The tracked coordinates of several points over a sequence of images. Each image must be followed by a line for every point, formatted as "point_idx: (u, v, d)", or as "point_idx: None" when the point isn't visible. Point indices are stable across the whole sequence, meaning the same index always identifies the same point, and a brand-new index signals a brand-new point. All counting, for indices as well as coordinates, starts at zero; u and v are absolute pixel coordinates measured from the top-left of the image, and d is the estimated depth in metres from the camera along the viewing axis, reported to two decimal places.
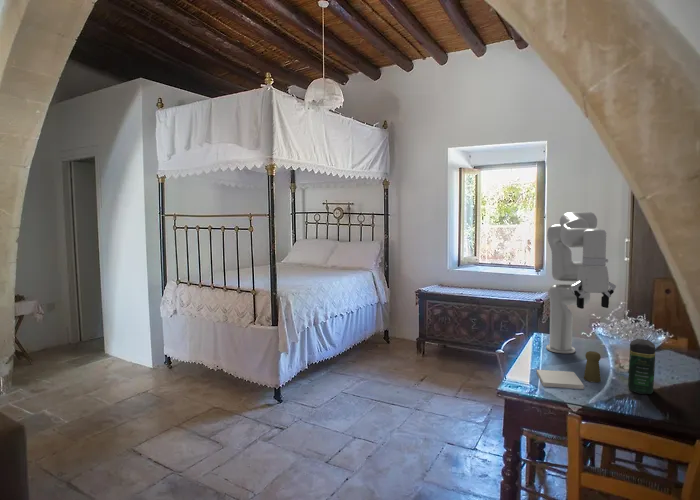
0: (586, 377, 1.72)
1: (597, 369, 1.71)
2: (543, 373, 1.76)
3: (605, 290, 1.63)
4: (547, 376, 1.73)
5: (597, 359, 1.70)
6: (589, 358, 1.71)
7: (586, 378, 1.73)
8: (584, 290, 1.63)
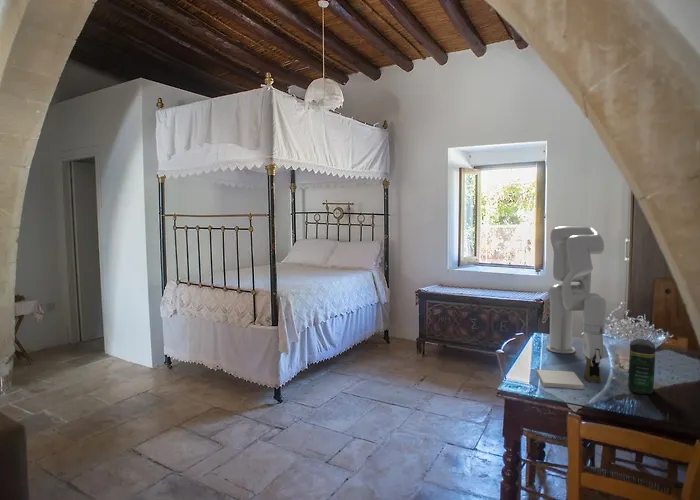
0: (586, 377, 1.72)
1: None
2: (543, 373, 1.76)
3: None
4: (547, 376, 1.73)
5: None
6: None
7: (586, 378, 1.73)
8: None
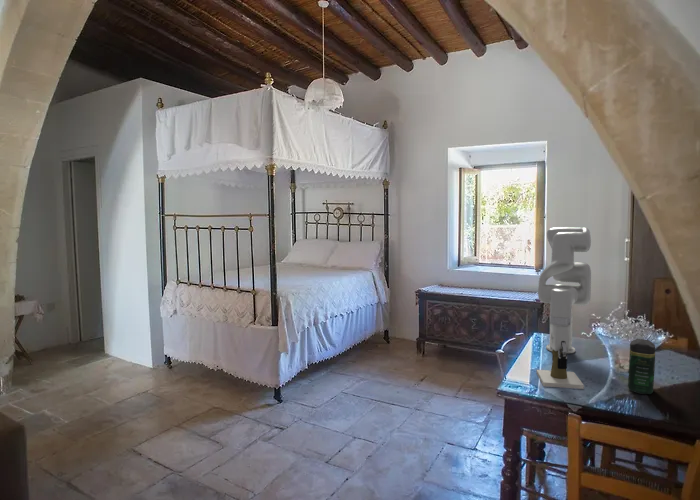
0: (552, 374, 1.72)
1: None
2: (543, 373, 1.76)
3: None
4: (547, 376, 1.73)
5: None
6: (555, 354, 1.71)
7: (552, 375, 1.72)
8: (568, 350, 1.67)
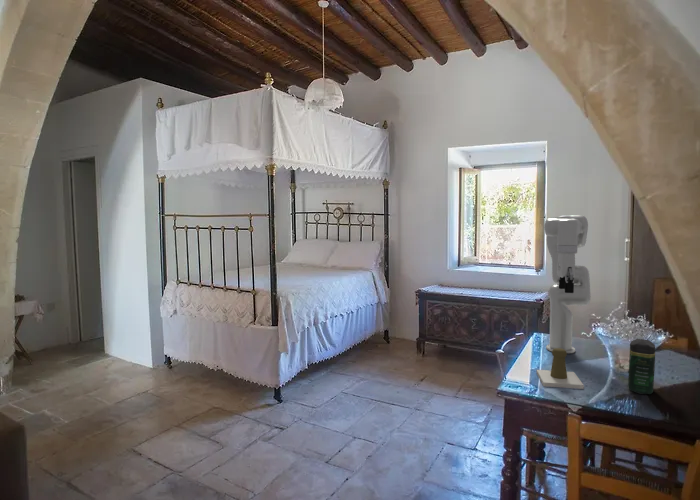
0: (552, 374, 1.72)
1: (563, 366, 1.71)
2: (543, 373, 1.76)
3: None
4: (547, 376, 1.73)
5: (563, 356, 1.70)
6: (555, 354, 1.71)
7: (552, 375, 1.72)
8: (574, 275, 1.77)
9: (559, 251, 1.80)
